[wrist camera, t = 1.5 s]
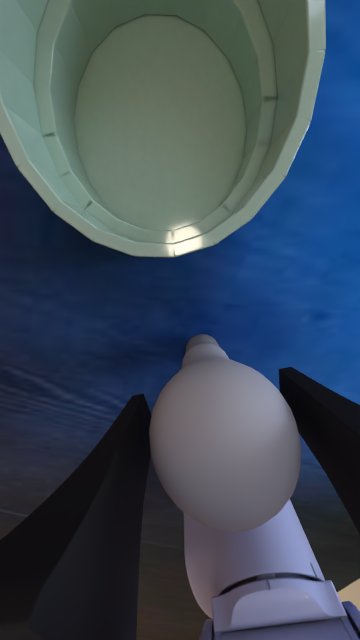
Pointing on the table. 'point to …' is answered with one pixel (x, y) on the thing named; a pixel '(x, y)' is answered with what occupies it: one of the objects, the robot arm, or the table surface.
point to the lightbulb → (224, 441)
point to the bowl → (158, 111)
